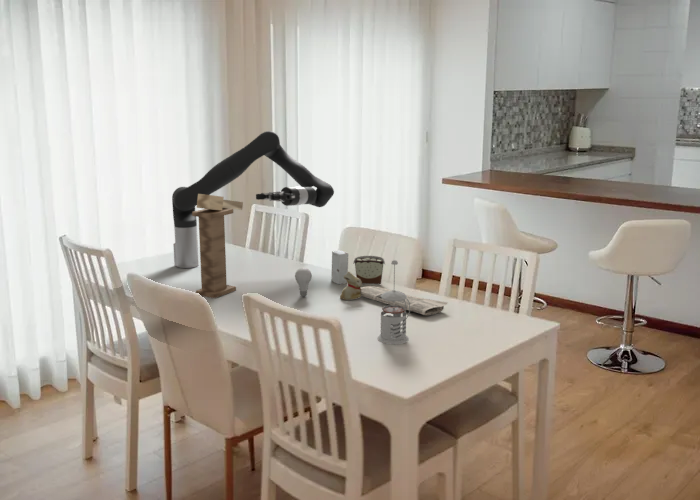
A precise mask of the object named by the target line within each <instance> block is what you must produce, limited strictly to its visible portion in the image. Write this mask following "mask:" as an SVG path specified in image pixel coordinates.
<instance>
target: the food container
mask: <svg viewBox="0 0 700 500" xmlns="http://www.w3.org/2000/svg"><path fill="white" fill-rule="evenodd" d="M353 265H354V266H355V267H354V268H355V277H357V278H359V279H360V280H361V281H362V285H379V284H381V285H382V278H383V272H384V265H386V262H385V259H384V258H383V257H381V256H376V255H363V256H362V255H360V256H356V257H355V258H354V260H353Z"/></svg>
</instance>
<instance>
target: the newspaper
mask: <svg viewBox="0 0 700 500" xmlns="http://www.w3.org/2000/svg"><path fill="white" fill-rule="evenodd" d="M360 289H362V290H361V292H360V294H361V297H363V298H366V299H370V300H373V301H377V302H380V303H384V304H386V305H387V304H388V305H393V304H394V305H395V306H402V307H404V308H405V302H404V300H403V301H402V302H404V303H402V302H400V301H387V300H384V299H382V298H381V295H382V294H383V293H385V292H387V291H392V289H389V288H385V287H381V286H374V285H369V286H363V287H362V286H361V288H360ZM406 295H407V298H406V299H408V300H409V302H408V300H406V299H405V301H406V311H409V303H410V312H413V313H416V314H419V315H423V316H432V315H435V314H439V313H441V312H442V311H443V310H444V307H445V306H447V305H448V304H449V302H447V301H446V302H445V301H440V300H435V299H430V298H424V297H417V296H412V295H409V294H406Z"/></svg>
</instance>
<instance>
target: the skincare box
mask: <svg viewBox="0 0 700 500" xmlns="http://www.w3.org/2000/svg"><path fill="white" fill-rule="evenodd" d="M348 269H349V253H348V252H347V251H343V250H342V249H340V250H339V249H338V250H333V251H331V274H330V275H331V277H330V278H331V281H332V282H334V283H335V284H337V285H342V283H344V284H348V282H347V281H346V280H345V279H344V275H346V274H347V272H349V270H348Z"/></svg>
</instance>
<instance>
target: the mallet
mask: <svg viewBox="0 0 700 500" xmlns="http://www.w3.org/2000/svg"><path fill="white" fill-rule="evenodd" d="M243 204H244V202H243V201H238V200H237V201H236V200H229V199H224V196H220V195H213V194H210V195H205V194H198V199H197V205H196V208H197V209H212V210H221V211H222V208H228V209H233V210H237V211H238V210H239V211H243V208H244V207H243V206H244V205H243Z"/></svg>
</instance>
